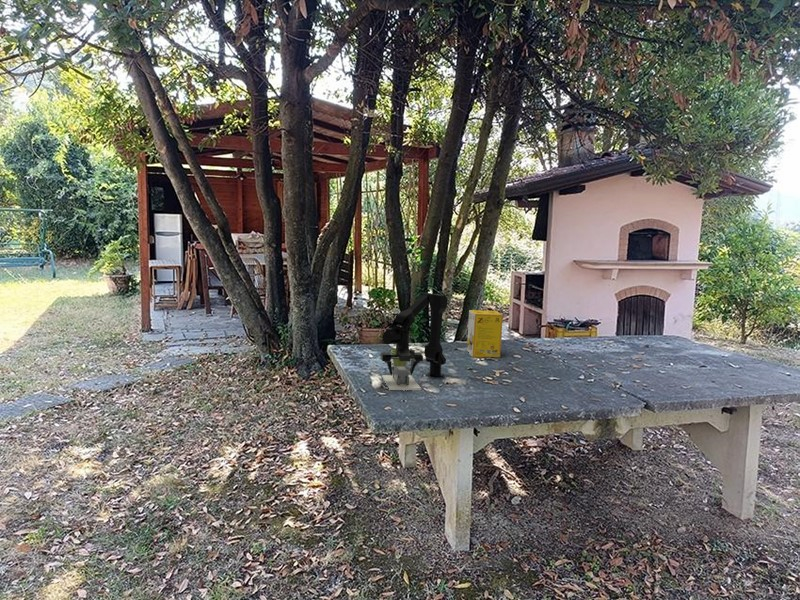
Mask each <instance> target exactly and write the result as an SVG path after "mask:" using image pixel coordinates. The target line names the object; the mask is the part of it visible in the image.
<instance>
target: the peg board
mask: <svg viewBox="0 0 800 600" xmlns="http://www.w3.org/2000/svg"><path fill="white" fill-rule="evenodd" d="M382 378H383V379H382ZM400 378H401V377H398V384H397V383H396V382H395V380H394V369H393V370H392V376H391V375H390V374H382V375H381V379H382V380H383V382H384V381H385V382H384V384H385V383H386V384H385V386H386V387H387V386H388V387H387V389H388V388H389V389H388V390H389V391H390V390H403V392H404V391H405V390H406V391H407V390H412V391H422V387H421V386H420V385H419V383H418V382H417V381H416V380H415V378H414V377H413V376H412V375H410V374H409V377H407V381H406V384H400Z"/></svg>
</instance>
